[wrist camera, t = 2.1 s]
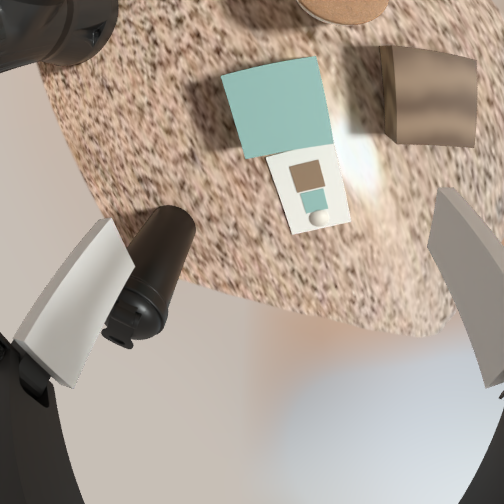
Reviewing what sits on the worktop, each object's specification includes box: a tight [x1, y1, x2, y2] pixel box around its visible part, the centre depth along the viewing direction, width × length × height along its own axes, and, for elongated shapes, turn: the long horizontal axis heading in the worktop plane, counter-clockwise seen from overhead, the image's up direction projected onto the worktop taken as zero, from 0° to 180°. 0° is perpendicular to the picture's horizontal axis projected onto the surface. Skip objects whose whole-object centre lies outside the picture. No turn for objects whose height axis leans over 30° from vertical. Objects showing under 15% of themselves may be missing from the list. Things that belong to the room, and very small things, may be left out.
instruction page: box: [266, 141, 351, 235], centre depth 42 cm, size 14×10×1 cm
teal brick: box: [221, 56, 334, 159], centre depth 32 cm, size 11×11×6 cm
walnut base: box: [379, 46, 477, 148], centre depth 28 cm, size 13×13×5 cm
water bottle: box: [101, 205, 196, 349], centre depth 40 cm, size 10×10×23 cm
